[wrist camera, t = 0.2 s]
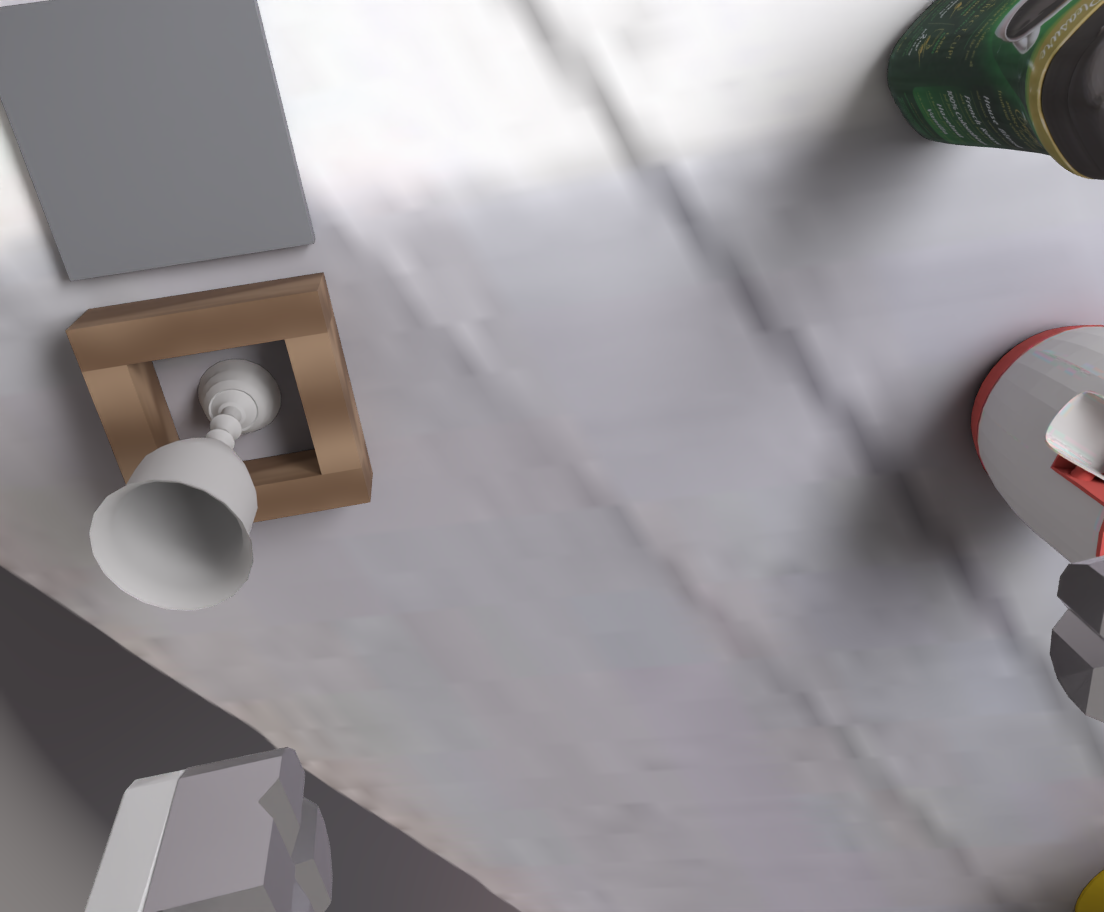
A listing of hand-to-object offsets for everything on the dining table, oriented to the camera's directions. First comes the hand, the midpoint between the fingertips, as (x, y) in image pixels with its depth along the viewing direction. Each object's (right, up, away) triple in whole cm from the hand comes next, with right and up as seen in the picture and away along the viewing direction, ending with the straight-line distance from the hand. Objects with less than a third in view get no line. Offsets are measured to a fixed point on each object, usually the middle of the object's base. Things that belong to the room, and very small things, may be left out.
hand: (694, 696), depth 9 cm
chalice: (-21, +6, +48) cm, 53 cm away
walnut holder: (-21, +6, +48) cm, 53 cm away
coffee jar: (+23, +27, +45) cm, 57 cm away
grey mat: (-23, +20, +40) cm, 51 cm away
